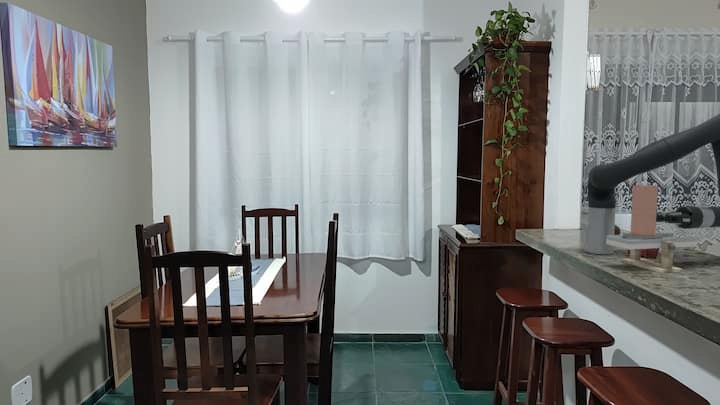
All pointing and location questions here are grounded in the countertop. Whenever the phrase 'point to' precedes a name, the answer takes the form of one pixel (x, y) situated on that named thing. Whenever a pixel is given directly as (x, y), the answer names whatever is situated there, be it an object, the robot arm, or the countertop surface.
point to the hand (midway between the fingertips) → (650, 218)
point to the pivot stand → (652, 265)
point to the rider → (643, 213)
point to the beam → (650, 242)
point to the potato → (616, 230)
